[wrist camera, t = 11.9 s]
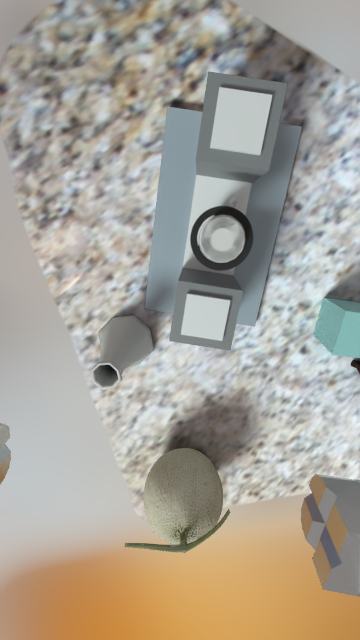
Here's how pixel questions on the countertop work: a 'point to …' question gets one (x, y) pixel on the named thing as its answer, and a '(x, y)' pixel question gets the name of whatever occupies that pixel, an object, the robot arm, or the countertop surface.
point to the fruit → (182, 500)
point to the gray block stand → (219, 204)
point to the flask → (120, 349)
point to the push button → (222, 237)
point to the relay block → (339, 327)
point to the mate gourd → (356, 365)
